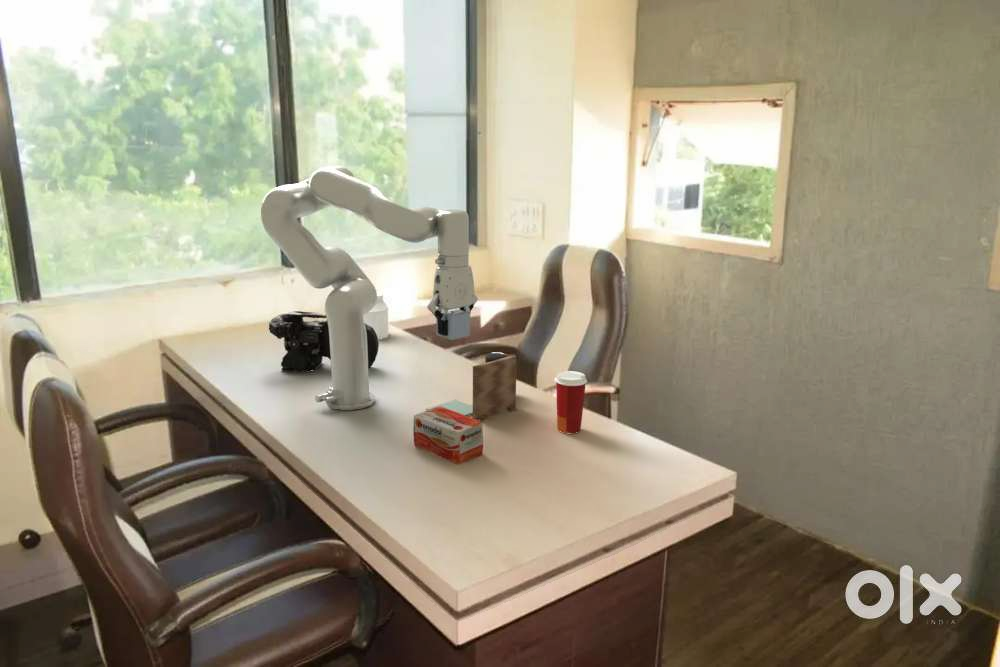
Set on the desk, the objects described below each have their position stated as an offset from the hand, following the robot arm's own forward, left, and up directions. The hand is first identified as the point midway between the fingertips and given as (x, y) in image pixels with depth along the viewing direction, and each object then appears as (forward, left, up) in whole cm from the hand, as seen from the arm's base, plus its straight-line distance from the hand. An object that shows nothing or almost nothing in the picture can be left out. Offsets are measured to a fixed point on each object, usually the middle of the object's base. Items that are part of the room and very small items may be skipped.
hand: (453, 331), depth 192 cm
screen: (+7, -8, -21) cm, 24 cm away
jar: (+25, +73, -22) cm, 80 cm away
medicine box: (-16, -18, -22) cm, 32 cm away
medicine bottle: (+16, +1, -22) cm, 27 cm away
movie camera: (-7, +52, -22) cm, 57 cm away
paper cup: (+13, -28, -22) cm, 38 cm away
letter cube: (0, 0, -1) cm, 1 cm away
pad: (0, 0, -21) cm, 21 cm away
